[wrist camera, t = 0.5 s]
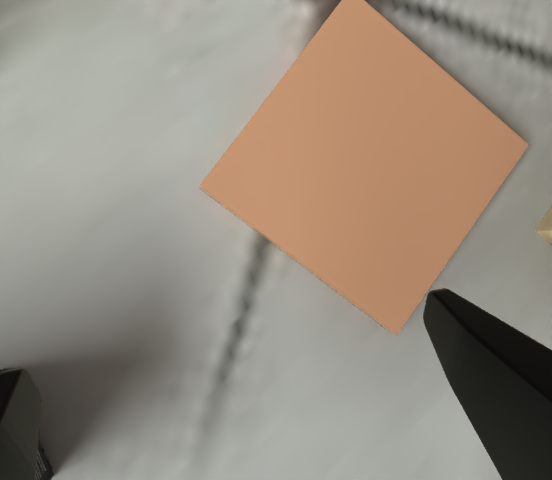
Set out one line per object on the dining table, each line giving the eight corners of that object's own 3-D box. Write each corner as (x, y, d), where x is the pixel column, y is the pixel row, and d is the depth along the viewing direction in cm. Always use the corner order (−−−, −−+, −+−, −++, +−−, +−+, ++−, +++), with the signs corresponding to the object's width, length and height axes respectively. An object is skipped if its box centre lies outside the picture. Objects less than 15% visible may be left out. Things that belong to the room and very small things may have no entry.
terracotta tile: (514, 148, 27) (529, 144, 26) (387, 330, 26) (397, 335, 25) (343, -1, 25) (350, -12, 24) (199, 188, 24) (199, 186, 23)
